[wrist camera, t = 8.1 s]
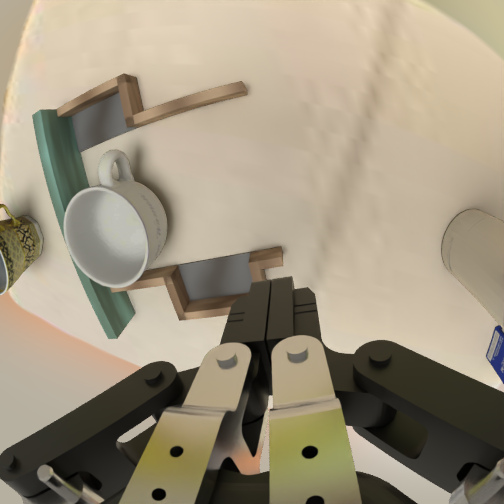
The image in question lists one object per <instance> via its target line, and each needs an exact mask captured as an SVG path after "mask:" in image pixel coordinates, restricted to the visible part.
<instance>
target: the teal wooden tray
mask: <svg viewBox="0 0 504 504" xmlns="http://www.w3.org/2000/svg"><path fill="white" fill-rule="evenodd" d="M244 95H247V91H246V87H245V85H244V83H243V82H242V81H240V82H236V83H232V84H228V85H224V86H220V87H216V88H213V89H209V90H206V91H202V92H199V93H195V94H192V95H189V96H186V97H183V98H179V99H176V100H173V101H170V102H168V103H165V104H162V105H159V106H156V107H153V108H151V109H148V110H145V111H143V106H142V102H141V97H140V92H139V88H138V83H137V78H136V77H134V76H130V75H127V74H122V75H120V76H118V77H115V78H113V79H111V80H109V81H107V82H105V83H103V84H101V85H99V86H97V87H95V88H93V89H91V90H90V91H88V92H86V93H84V94H82V95H80V96H79V97H77V98H75V99H73V100H72V101H70V102H68V103H66V104H65V105H63V106H61V107H60V108H58V109H55V110H39V111H38V112H36V113H35V114H33V115H32V117H33V123H34V129H35V134H36V139H37V144H38V149H39V154H40V158H41V163H42V167H43V171H44V175H45V179H46V182H47V186H48V190H49V193H50V197H51V200H52V204H53V207H54V210H55V213H56V216H57V219H58V223H59V225H60V228H61V231H62V234H63V237H64V217H65V212H66V209H67V206H68V204H69V202H70V201H71V199H72V198H73V197H74V196H75V195H76V194H77V193H78V192H80V191H81V190H83V189H86V188H89V184H88V181H87V177H86V174H85V170H84V166H83V162H82V158H81V154H80V152H82V151H84V150H86V149H88V148H90V147H93V146H95V145H97V144H99V143H102V142H104V141H106V140H109V139H111V138H113V137H116V136H118V135H121V134H123V133H126V132H128V131H131V130H133V129H136V128H138V127H141V126H144V125H147V124H149V123H152V122H155V121H158V120H161V119H164V118H166V117H169V116H172V115H176V114H179V113H182V112H185V111H188V110H192V109H195V108H198V107H202V106H205V105H209V104H212V103H216V102H220V101H224V100H228V99H232V98H236V97H240V96H244ZM64 240H65V237H64ZM65 243H66V241H65ZM68 251H69V250H68ZM70 256H71V255H70ZM71 258H72V257H71ZM72 261H73V264H74V266H75V268H76V271H77V273H78V276H79V278H80V280H81V283H82V285H83V287H84V290H85V292H86V294H87V296H88V298H89V301H90V303H91V305H92V307H93V309H94V311H95V313H96V315H97V317H98V319H99V321H100V323H101V325H102V327H103V329H104V331H105V333H106V335H107V337H108V339H117V338H118V337H119V335H120V334H121V333H122V331H123V330H124V328H125V327H126V326H127V324H128V323H129V321H130V320H131V319H132V317H133V316H134V315H135V311H134V309H133V307H132V304H131V302H130V300H129V297H128V295H127V293H126V291H127V290H134V289H141V288H148V287H155V286H161V285H166V287H167V290H168V292H169V295H170V298H171V300H172V303H173V305H174V308H175V311H176V313H177V316H178V318H179V321H180V320H189V319H199V318H207V317H216V316H224V315H229V312H230V309H231V306H232V304H233V303H234V302H235V301H236V300H237V299H238V298H239V297H243V296H249V291H250V286H251V283H252V282H257V281H264V280H266V277H265V272H264V269H268V268H274V267H279V266H283V253H282V248H281V247H276V248H271V249H265V250H259V251H254V252H248V253H243V254H237V255H231V256H226V257H220V258H214V259H209V260H203V261H197V262H192V263H186V264H180V265H175V266H169V267H164V268H158V269H152V270H147V271H144V272H143V274H142V275H141V277H140V278H139V279H138V280H136V281H135V282H134V283H133V284H131V285H129V286H126V287H123V288H111V287H107V286H103V285H100V284H99V283H97V282H95V281H93V280H92V279H91V278H89V277H88V276H87V275H85V274H84V273H83V272H82V271H81V270H80V268H79V267H78V266H77V265H76V263H75V262H74V260H73V259H72Z"/></svg>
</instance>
